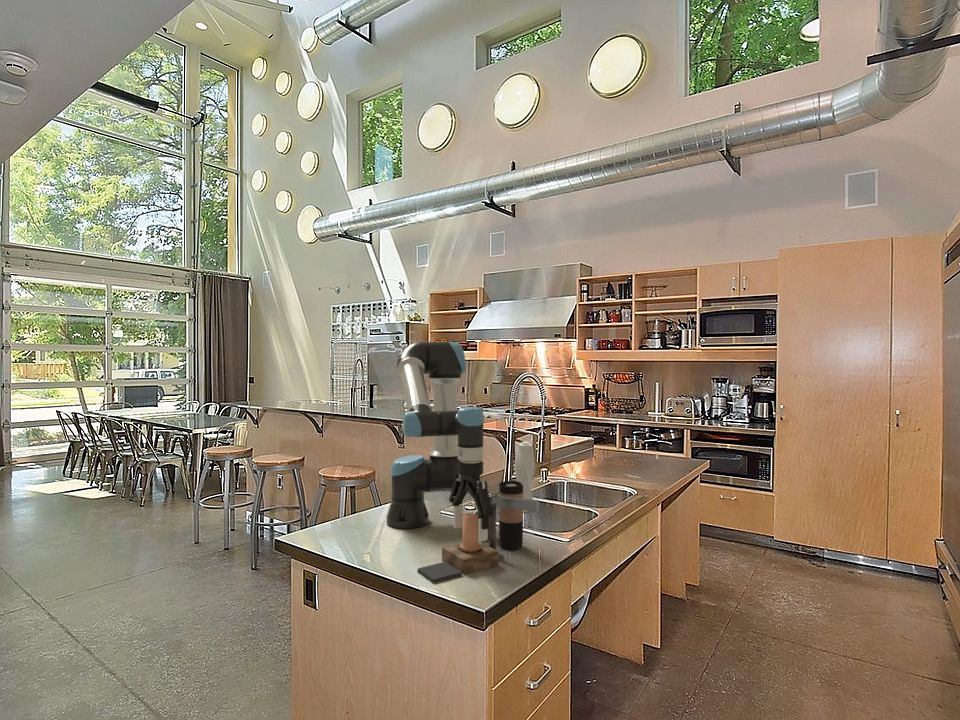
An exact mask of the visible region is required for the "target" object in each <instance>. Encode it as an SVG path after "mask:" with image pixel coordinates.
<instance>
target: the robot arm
mask: <svg viewBox="0 0 960 720" xmlns="http://www.w3.org/2000/svg"><path fill="white" fill-rule="evenodd" d="M466 362H467V361H466V356H465V352H464V349H463V347H462V345H461V343H459V342H456V341H454V342H453V341H417V342H414V343H411V344H409V345H408V346H406V347H405V348H404V349H403V351H402V352H401V353H400V355H399V356H398V359H397V361H396V371H397V374H398V377H399V378H400V379H401V383H402V384H401V385H402V388H403V394H404V401H405V406H406V411H405V412H404V413H403V415H402V432H403V435H404V436H405V437H407V438H410V437H411V438H412V437H414V438H422V437H427V438H428V437H433V449H432V450H431V452H430V453H429V459H426V458H425V456H424V455H421V454H417V455H416V454H412V455H406V456H402V457H397V458H396V459H395V460H393V462H392V463H391V471H390V476H391V491H390V492H391V495H390V496H391V498H390V504H389V508H388V511H387V515H386V520H385V521H386V525H387V526H389V527H391V528H396V529H403V530H404V529H406V530H407V529H417V528H421V527H424V526H426V525H428V524H429V523H430V515H429V511H428V508H427V504H426V503H425V493H436V492H450V495H449V499H448V501H449V503H451V504H452V506H453V529H460V528H463V514H464V513H463V512H464V509H463V508H464V506H463V504H464V503H463V501H464V498H465V496H466V495H467V494H469V495H470V497H472V498H473V501H474V504H475V507H476V509H477V513H478V512H479V515H480V516H479V517H478V540H479V541H483V540H487V539H488V518H489V517H491V516H493V510H492V506H491V502H490V498H489V495H490V494H489V490H488V482H487V481H486V480H483V481H481V475H483V474H484V462H483V461H484V421H485V419H484V410H483V408H481V407H477V406H463V407H460V408H458V390H457V389H458V388H457V387H458V382H459V381H460V380H461V379H462V375H463V374H465V372H466V364H467V363H466ZM425 375H428V380H429V381H430V382H431V383H432V385H433V387H432V388H433V389H432V390H433V393H432V394H433V399H432V400H433V405H431V400H430V398H429V397H430V396H429V392H428V388H427V384H426V380H425ZM432 406H433V410H432Z"/></svg>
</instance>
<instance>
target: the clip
mask: <svg viewBox="0 0 960 720" xmlns="http://www.w3.org/2000/svg"><path fill="white" fill-rule="evenodd" d="M489 498H490V502H491V506H492V508H496V509H499V508H505V509H514V510H522V511H531V512H530V513H532V512H533V513H538V512H539V506H540V504H539V503H540V500H539V499H524V498H515V497H506V496H499V494H489Z"/></svg>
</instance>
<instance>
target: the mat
mask: <svg viewBox="0 0 960 720" xmlns="http://www.w3.org/2000/svg"><path fill="white" fill-rule="evenodd" d="M417 573H418V574H420V575H421V576H422V577H424V578H425V579H426V580H428V581H429V582H431V583H432V584H437V583H440V582H443V581H447V580H451V579H454V578H458V577H462V575H463V573H462V572H461V571H459V570H458V569H456V568H454V567H453V566H451V565H450V564H448V563H446V562H443V561H442V562H439V563H434V564H431V565H426V566H422V567H418V568H417Z"/></svg>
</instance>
